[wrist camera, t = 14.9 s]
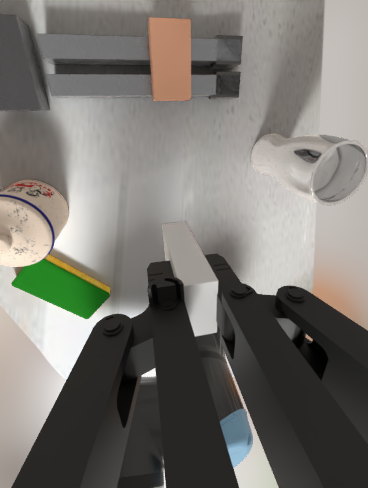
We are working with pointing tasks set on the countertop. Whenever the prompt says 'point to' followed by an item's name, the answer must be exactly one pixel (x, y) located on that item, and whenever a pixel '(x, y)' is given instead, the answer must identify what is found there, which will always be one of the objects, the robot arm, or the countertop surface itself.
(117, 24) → the countertop surface
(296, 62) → the countertop surface
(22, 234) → the teacup with lid
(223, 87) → the tong arm
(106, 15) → the countertop surface
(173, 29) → the peach rectangular block
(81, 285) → the dish sponge
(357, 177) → the beer glass
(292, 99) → the countertop surface
